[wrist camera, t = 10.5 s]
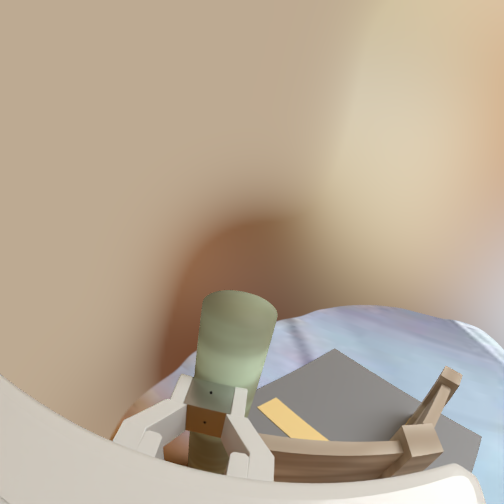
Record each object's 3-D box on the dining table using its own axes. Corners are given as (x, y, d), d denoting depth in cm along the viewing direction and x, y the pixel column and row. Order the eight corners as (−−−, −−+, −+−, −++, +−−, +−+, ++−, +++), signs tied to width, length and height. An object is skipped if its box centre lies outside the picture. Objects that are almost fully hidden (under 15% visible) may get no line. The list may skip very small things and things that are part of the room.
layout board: (479, 438, 18) (482, 436, 18) (414, 577, 4) (418, 576, 4) (333, 350, 36) (335, 348, 36) (204, 413, 22) (204, 410, 22)
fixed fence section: (427, 423, 22) (462, 375, 19) (395, 475, 16) (443, 426, 13) (412, 414, 23) (445, 365, 21) (377, 463, 17) (421, 413, 15)
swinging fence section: (392, 495, 13) (514, 358, 9) (183, 482, 14) (192, 317, 9) (386, 470, 16) (490, 333, 12) (192, 453, 17) (212, 284, 12)
